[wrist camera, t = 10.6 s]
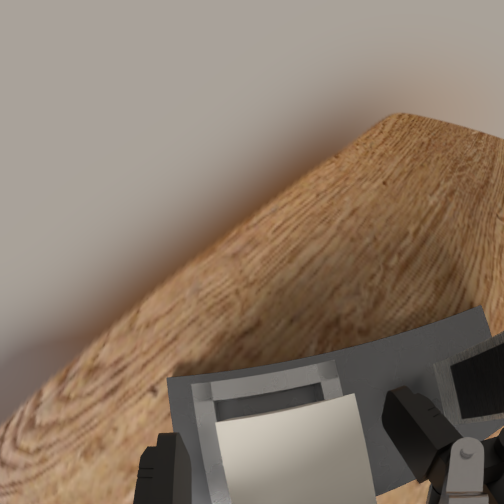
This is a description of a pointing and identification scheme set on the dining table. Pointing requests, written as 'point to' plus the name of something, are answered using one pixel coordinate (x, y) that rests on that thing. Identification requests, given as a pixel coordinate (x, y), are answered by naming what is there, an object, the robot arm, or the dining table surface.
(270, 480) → the white rectangular block
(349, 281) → the dining table surface
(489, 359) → the rail
